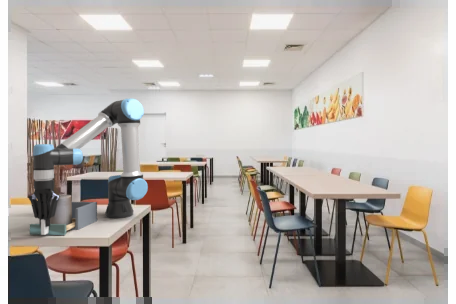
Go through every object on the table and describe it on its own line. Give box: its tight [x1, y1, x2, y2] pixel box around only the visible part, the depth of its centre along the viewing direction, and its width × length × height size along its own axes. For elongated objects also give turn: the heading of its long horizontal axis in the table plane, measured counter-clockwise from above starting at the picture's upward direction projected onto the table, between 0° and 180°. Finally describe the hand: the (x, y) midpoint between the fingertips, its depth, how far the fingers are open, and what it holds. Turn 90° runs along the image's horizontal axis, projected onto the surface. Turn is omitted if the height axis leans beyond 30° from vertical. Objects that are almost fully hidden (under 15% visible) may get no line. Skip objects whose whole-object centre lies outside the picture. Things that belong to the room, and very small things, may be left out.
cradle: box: [68, 201, 98, 231], centre depth 149 cm, size 18×17×10 cm
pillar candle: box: [50, 194, 72, 226], centre depth 141 cm, size 10×10×15 cm
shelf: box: [29, 218, 76, 236], centre depth 140 cm, size 18×16×4 cm
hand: (44, 233), depth 129 cm, fingers closed
